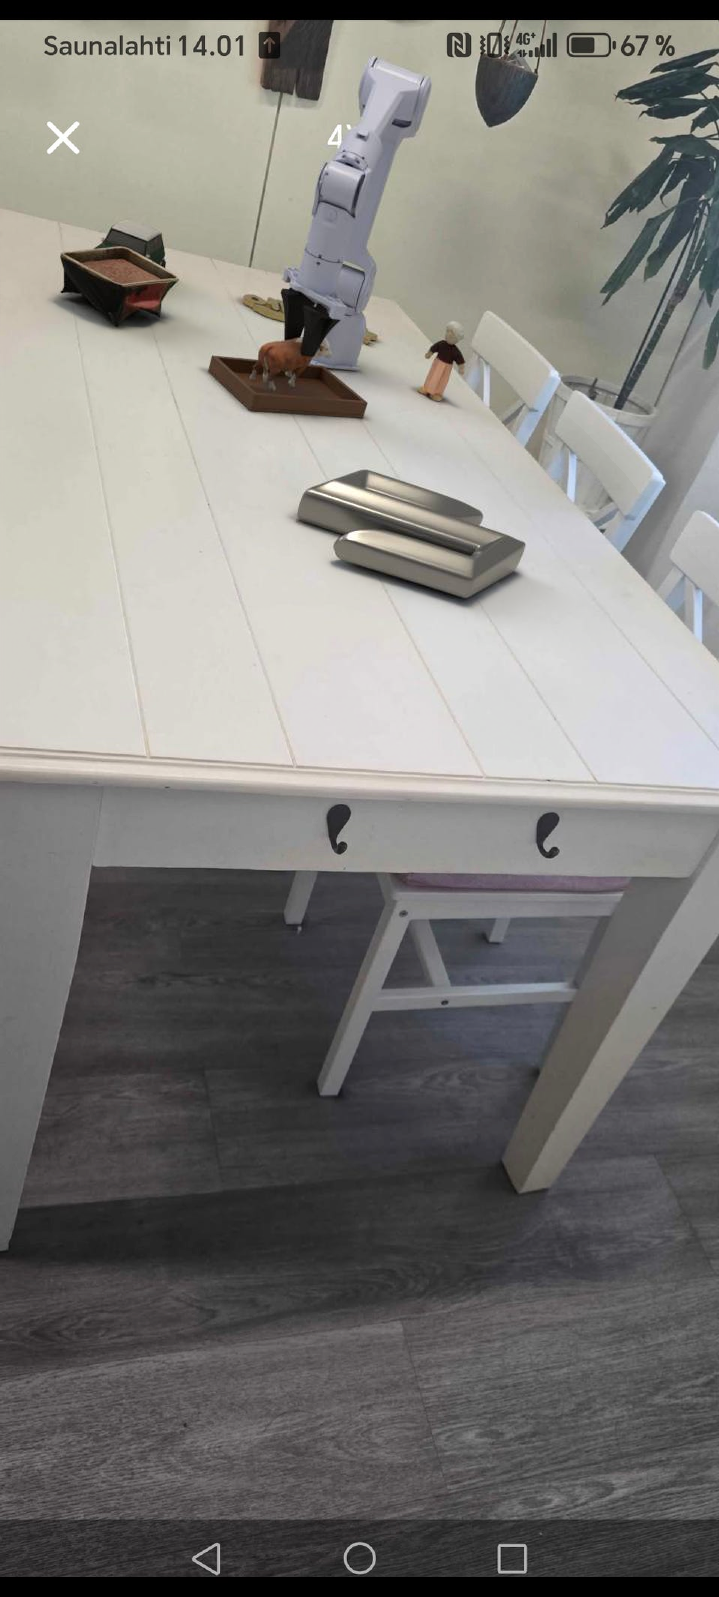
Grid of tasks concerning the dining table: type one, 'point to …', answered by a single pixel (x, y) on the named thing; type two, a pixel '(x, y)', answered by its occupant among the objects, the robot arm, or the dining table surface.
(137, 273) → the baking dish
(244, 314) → the dining table surface
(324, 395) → the walnut tray
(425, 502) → the emblem
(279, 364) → the bull figurine
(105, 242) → the miniature car
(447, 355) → the grandmother figurine
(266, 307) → the lettering
